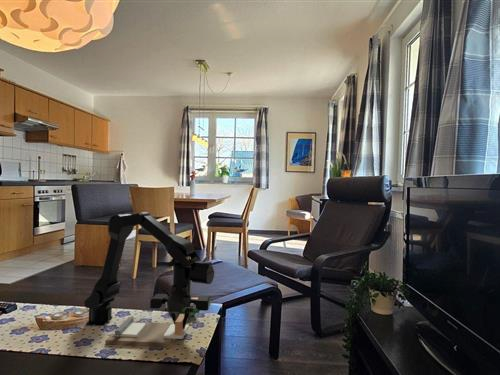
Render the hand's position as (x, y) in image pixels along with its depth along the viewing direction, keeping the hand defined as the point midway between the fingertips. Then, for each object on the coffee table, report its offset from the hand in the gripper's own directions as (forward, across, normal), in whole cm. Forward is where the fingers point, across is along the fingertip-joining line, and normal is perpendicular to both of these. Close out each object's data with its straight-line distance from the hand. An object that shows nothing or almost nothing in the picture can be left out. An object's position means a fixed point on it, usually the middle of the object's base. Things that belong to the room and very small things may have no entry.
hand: (180, 328), depth 97 cm
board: (+3, -11, 0) cm, 12 cm away
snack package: (+4, -4, +19) cm, 19 cm away
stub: (+1, -1, 0) cm, 2 cm away
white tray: (+2, -16, 0) cm, 16 cm away
